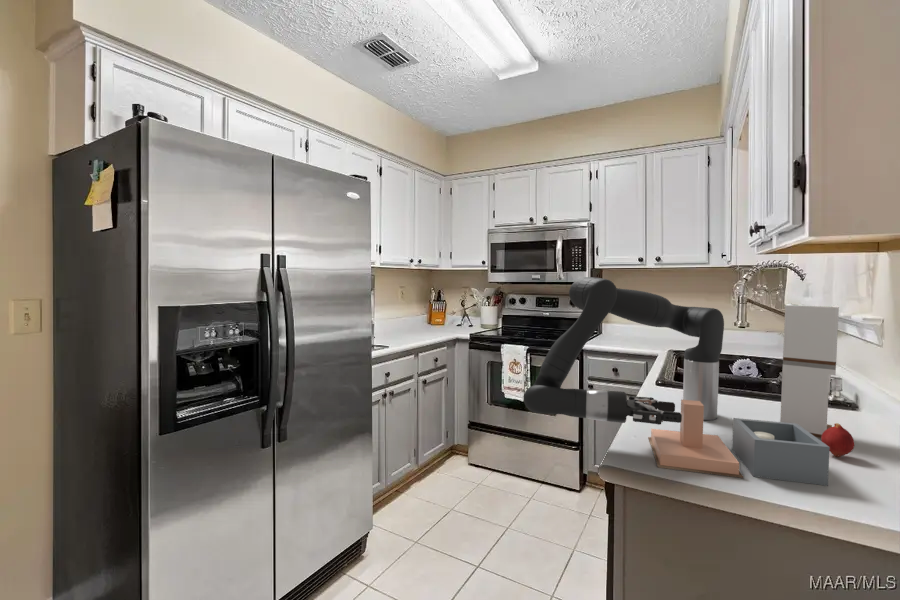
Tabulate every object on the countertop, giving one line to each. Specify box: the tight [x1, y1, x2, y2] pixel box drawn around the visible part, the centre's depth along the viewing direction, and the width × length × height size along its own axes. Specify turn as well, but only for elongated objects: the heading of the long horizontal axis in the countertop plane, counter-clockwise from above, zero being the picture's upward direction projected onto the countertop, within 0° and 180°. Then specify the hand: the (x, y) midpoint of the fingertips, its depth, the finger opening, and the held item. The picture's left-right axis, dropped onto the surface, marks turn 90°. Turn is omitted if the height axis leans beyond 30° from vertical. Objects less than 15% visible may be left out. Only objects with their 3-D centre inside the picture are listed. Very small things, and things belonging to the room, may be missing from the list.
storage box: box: [731, 417, 830, 486], centre depth 98 cm, size 15×13×8 cm
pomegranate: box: [821, 422, 855, 458], centre depth 103 cm, size 6×6×8 cm
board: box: [647, 436, 744, 479], centre depth 103 cm, size 18×16×1 cm
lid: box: [650, 399, 740, 475], centre depth 103 cm, size 17×15×12 cm
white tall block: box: [779, 303, 840, 441], centre depth 117 cm, size 11×11×35 cm
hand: (677, 412), depth 103 cm, fingers open, 8 cm apart
